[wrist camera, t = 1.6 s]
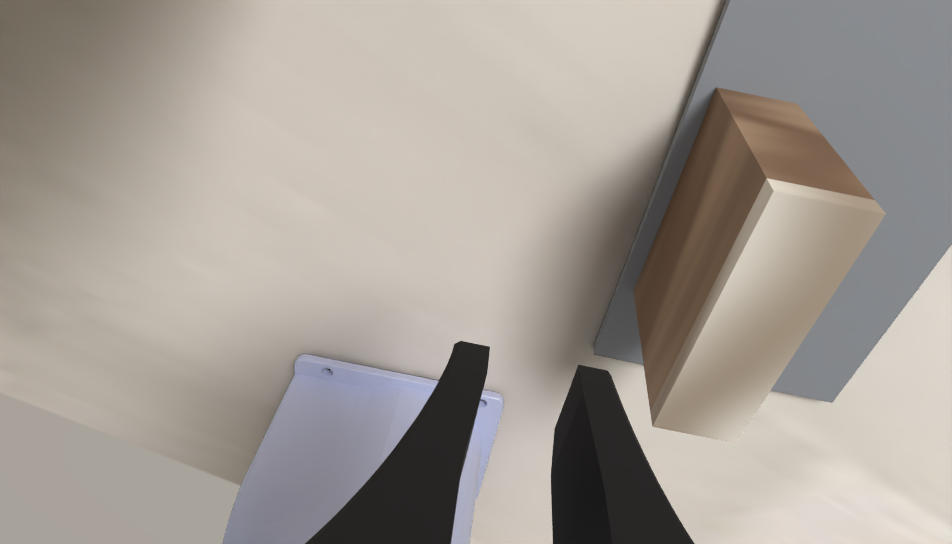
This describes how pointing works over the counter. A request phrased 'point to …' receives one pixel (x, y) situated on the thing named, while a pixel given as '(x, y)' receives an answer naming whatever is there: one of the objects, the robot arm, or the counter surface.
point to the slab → (744, 262)
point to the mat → (854, 139)
